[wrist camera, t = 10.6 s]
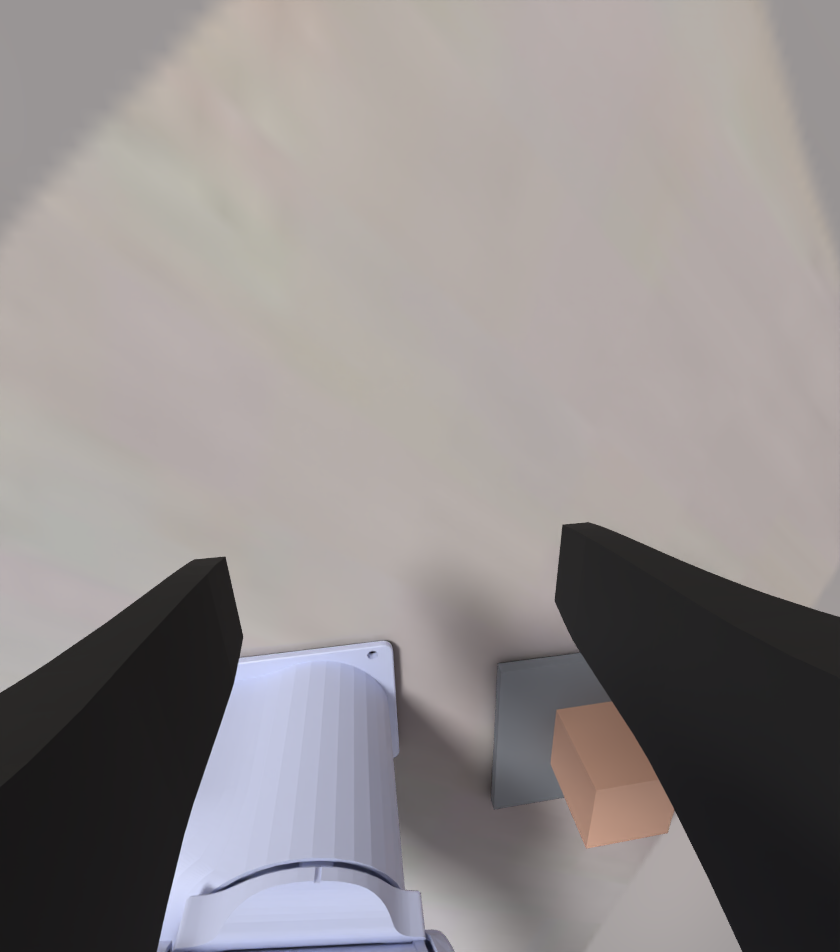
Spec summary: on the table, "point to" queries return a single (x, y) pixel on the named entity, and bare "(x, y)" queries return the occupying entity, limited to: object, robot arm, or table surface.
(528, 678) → the mat
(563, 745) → the cube
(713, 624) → the robot arm
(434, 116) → the table surface
